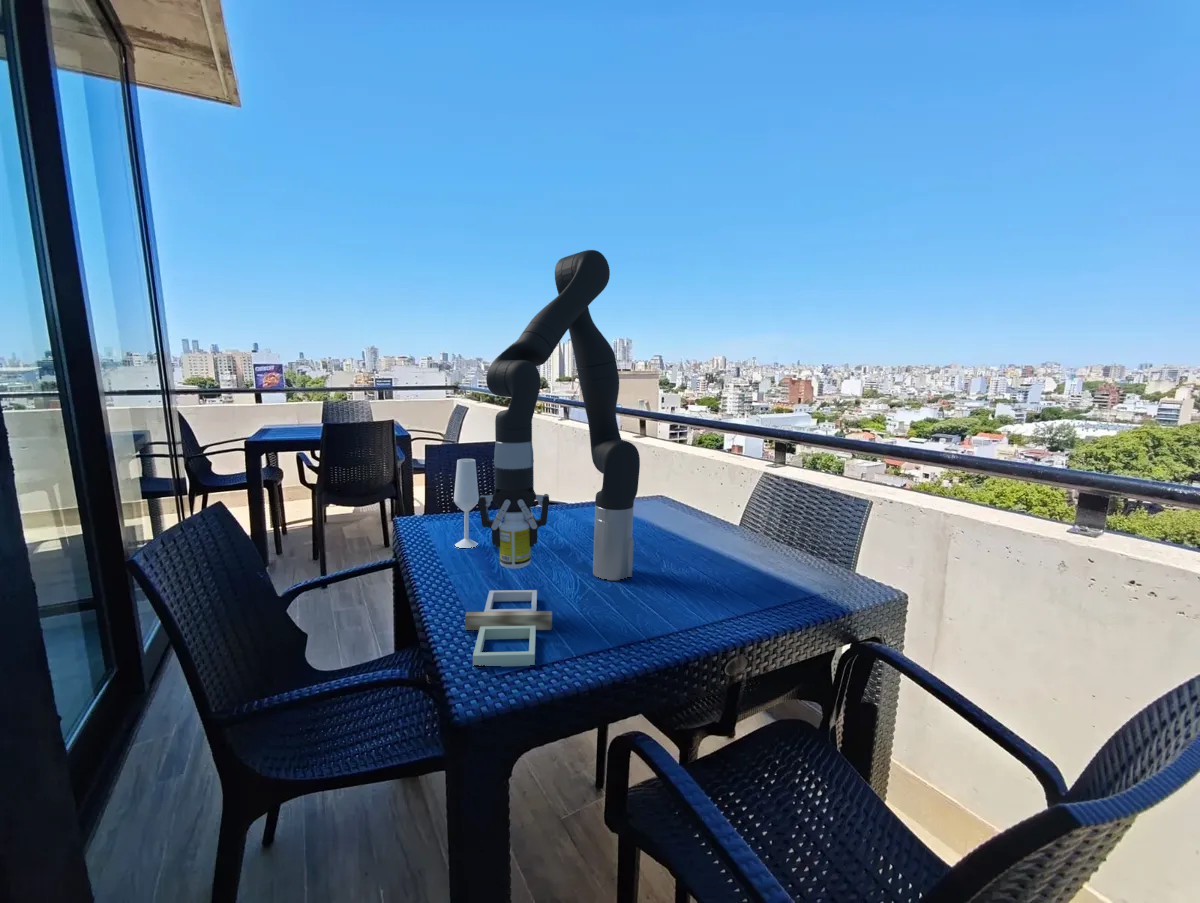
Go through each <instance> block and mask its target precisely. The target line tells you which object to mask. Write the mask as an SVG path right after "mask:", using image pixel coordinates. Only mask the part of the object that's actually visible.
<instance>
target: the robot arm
mask: <svg viewBox="0 0 1200 903" xmlns="http://www.w3.org/2000/svg"><path fill="white" fill-rule="evenodd" d="M610 276H611V272H610V265H609V263H608V260H607V258H606V257H605V255H604V254H603V253H602V252H601V251H598V250H595V249H586V250H583V251H580V252H577V253H574V254H570V255H567V256H565V257H562V258H560V259H559V260H558V261H557V263H556V265H555V267H554V281H555V286H556V287H555V288H556V290H557V296H556V297H555V298H554V299H553V300H551V301H550V302H548V303H547V304H546V305H545V306H544V307H543V308H542V309H541V310H540V311H538V312H537V313H536V315H534V317H533V318H532V319H531V320H530V322H529V323H528V324H527V326H526V327H525V328H524V330H523V331H522V333H521V334H520V336H519V337H518V339H517V340H516V341H514V342H513V343H512V344H510V346H508V347H507V348H506V349H505V350H504V351H502V352H501V353H500V354H499V355H498V356H497V357H496V358H495V359H494V360H493V361H492V362H491V364H490V366H489V368H488V369H487V372H486V376H485V377H486V378H485V380H486V382H485V383H486V386H487V388H488V390H489V391H490V393H491V394H493V395H494V396H496V397H500V398H501V397H503V398H510V402H509V405H508V408H507V409H503V410H501V411H498V412H497V413H496V415H495V421H494V423H495V424H494V425H495V426H494V427H495V431H494V432H495V436H494V437H495V446H494V454H493V455H494V457H493V465H494V492H493V494H491V495H489V494H488V495H485V494H481V495H479V501H478V505H479V506H478V508H479V514H480V520H481V526H482V528H488V529H490V530H491V543H492V546H495V549H500V546H499V525H500V523H501V522H502V521H503V520H504V519H503V517H504V515H505V513H506V512H523V514H524V516H525V517H526V518H525V519H526V520H528V522H529V524H530V547H531V548H534V547H535V545H537V543H538V529H539V528H540V527H542V526H543V527H545V526H546V525H547V520H548V511H549V506H550V505H549V504H550V495H549V494H548V493H544V494H536V492H535V489H534V484H535V482H534V473H535V472H534V461H535V459H534V448H533V417H534V414H535V411H536V407H537V402H538V399H539V394H540V390H541V383H542V382H541V376H540V372H539V370H538V368H537V367H539V366H541V365H544V364H545V363H546V362H547V361H548V360H549V359H550V357H551V356H552V354H553V353H554V351H555V349H556V348H557V346H558V345H559V343H560V342H561V340H562V339H563V337H564V336H565V334H566V333H567V332H569V337H570V341H571V342H570V343H571V346H572V350H573V355H574V361H575V367H576V373H577V378H578V382H579V386H580V389H581V390H580V391H581V395H582V400H583V403H584V404H583V405H584V409H585V414H586V417H587V422H588V423H587V424H588V432H589V443H590V451H591V458H592V463H593V465H594V467H595V469H596V470H597V471H598V472H600V474H603V475H602V476H603V477H602V487H601V489H600V490H599V491H598V492H596V494H595V498H594V499H595V500H594V504H595V505H594V527H593V528H594V529H593V530H594V532H593V556H592V560H593V561H592V575H593V576H594V577H596V578H598V577H599V578H598V579H600V578H601V579H600V580H604V579H607V580H606V581H621V580H620V579H623V580H625V579H624V578H626V579H628V578H627V577H632V578H633V564H634V547H635V546H634V543H635V541H634V540H635V539H634V538H633V527H634V523H633V522H634V506H635V503H634V502H635V498H636V497H637V495H638V490H639V482H640V481H639V480H640V479H639V478H640V469H641V468H640V466H641V461H640V460H641V459H640V453H639V450H638V448H637V447H636V445H635V444H633V443H632V442H630V441H627V440H623V439H622V437H621V432H620V430H619V425H618V420H617V405H618V404H617V403H618V399H619V398H618V397H619V393H620V392H619V391H620V375H619V370H618V364H617V359H616V358H617V357H616V355H615V352H614V349H613V348H612V346H611V344H610V343H609V342H608V340H607V338H606V337H605V336H604V335H603V334H602V332H601V331H600V330H599V328H598V327H597V326H596V324H595V322H594V321H593V318H592V316H591V313H590V309H589V305H590V304H591V303H592V302H593V301H594V300H595V299H596V298H598V296H599V295H600V294H601V293H602V292H603V291H604V290H605V288H606V287H607V285H608V284H609V281H610ZM492 501H493V503H494V504H495V505H496V506H497V508H498V510H497V513H496V515H495V517H494V519H490V516H489V507H490V506H491V502H492ZM535 501H537V502H538V506H540V507H541V510H540V517H539V518H536V517H535V515H534V513H533V510H532V508H531V507H532V505H533V504H534V502H535Z"/></svg>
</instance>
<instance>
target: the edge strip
mask: <svg viewBox="0 0 1200 903" xmlns="http://www.w3.org/2000/svg"><path fill="white" fill-rule="evenodd" d="M464 617H465V618H464V620H465V621H464V623H465V624H464V626H465V628H464V630H473V631H472V632H475V631H474V630H478V631H477V632H479V630H480V626H536V631H551V630H552V629H553V611H552V610H536V611H512V612H484V611H466V612H465V615H464Z"/></svg>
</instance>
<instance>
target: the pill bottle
mask: <svg viewBox="0 0 1200 903" xmlns="http://www.w3.org/2000/svg"><path fill="white" fill-rule="evenodd" d="M499 546H500V547H499V564H500V565H501V566H502V568H503V567H504V568H506V569H521V568H522V569H523V568H525V567H526V566H528V565H530V564H531V562H532V560H531V559H532V557H531V555H532V553H531V552H532V550H531V548H532V547H530V524H529V522H528V520H527V519H526V517H525V516H524V514H523V512H506V513H505V515H504V517H503V519H502V520H501V522H500V524H499Z"/></svg>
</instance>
